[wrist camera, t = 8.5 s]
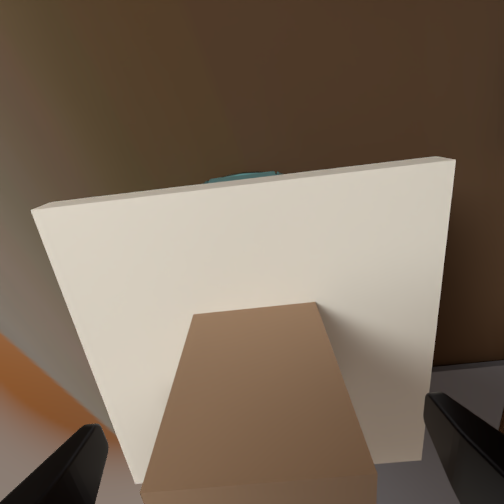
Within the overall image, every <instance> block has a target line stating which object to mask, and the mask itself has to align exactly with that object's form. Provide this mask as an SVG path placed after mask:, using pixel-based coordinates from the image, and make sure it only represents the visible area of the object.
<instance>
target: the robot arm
mask: <svg viewBox="0 0 504 504" xmlns="http://www.w3.org/2000/svg"><path fill="white" fill-rule="evenodd" d="M423 419H424V423H425V426H426V428H427V430H428V433H429V435H430V437H431V440H432V442H433V445H434V447H435V449H436V452H437V454H438V457H439V459H440V461H441V464H442V466H443V468H444V471H445V473H446V476H447V478H448V480H449V482H450V485H451V487H452V489H453V491H454V493H455V495H456V497H457V499H458V501H459V502H460V504H504V434H503V433H501V432H500V431H498V430H497V429H496V428H494V427H493V426H491V425H490V424H488V423H487V422H485V421H484V420H483V419H481V418H480V417H478V416H477V415H475V414H474V413H472V412H471V411H470V410H468V409H467V408H465V407H464V406H462V405H461V404H459V403H458V402H457V401H455V400H454V399H452V398H451V397H449V396H448V395H447V394H445V393H443V392H432V393H427V394H426V395H425V402H424V412H423ZM107 454H108V442H107V440H106V437H105V435H104V432H103V430H102V427H101V426H100V425H99V424H87V425H84V426H83V427H81V428H80V429H79V430H78V431H77V432H76V433H74V434H73V435H72V436H71V437H70V438H69V439H68V440H67V441H66V442H65V443H64V444H62V445H61V446H60V447H59V448H58V449H57V450H56V451H55V452H54V453H53V454H52V455H51V456H49V458H47V459H46V460H45V461H44V462H43V463H42V464H41V465H40V466H39V467H38V468H37V469H35V470H34V471H33V472H32V473H31V474H30V475H29V476H28V477H27V478H26V479H25V480H23V481H22V482H21V483H20V484H19V485H18V486H17V487H16V488H15V489H14V490H13V491H12V492H10V493H9V494H8V495H7V496H6V497H5V498H4V499H3V500H2V501H1V502H0V504H95V501H96V497H97V493H98V489H99V485H100V481H101V477H102V474H103V469H104V466H105V462H106V458H107Z"/></svg>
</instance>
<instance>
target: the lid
mask: <svg viewBox="0 0 504 504" xmlns="http://www.w3.org/2000/svg"><path fill="white" fill-rule="evenodd" d="M455 163H456V160H454V159H449V158H443V157H438V156H434V157H426V158H417V159H409V160H401V161H392V162H384V163H375V164H367V165H359V166H350V167H342V168H333V169H325V170H317V171H308V172H300V173H291V174H283V175H275V176H266V177H258V178H249V179H241V180H233V181H224V182H216V183H207V184H199V185H191V186H182V187H174V188H165V189H157V190H149V191H140V192H132V193H123V194H115V195H107V196H98V197H90V198H81V199H73V200H65V201H56V202H50V203H47V204H45V205H42V206H40V207H37V208H35V209H32V210H31V212H32V215H33V218H34V220H35V223H36V225H37V228H38V231H39V233H40V236H41V239H42V241H43V244H44V246H45V249H46V252H47V254H48V257H49V259H50V262H51V265H52V267H53V270H54V273H55V275H56V278H57V280H58V283H59V286H60V288H61V291H62V293H63V296H64V299H65V301H66V304H67V307H68V309H69V312H70V314H71V317H72V320H73V322H74V325H75V328H76V330H77V333H78V335H79V338H80V341H81V343H82V346H83V348H84V351H85V354H86V356H87V359H88V362H89V364H90V367H91V369H92V372H93V375H94V377H95V380H96V383H97V385H98V388H99V390H100V393H101V396H102V398H103V401H104V403H105V406H106V409H107V411H108V414H109V417H110V419H111V422H112V424H113V427H114V430H115V432H116V435H117V437H118V440H119V443H120V445H121V448H122V451H123V453H124V456H125V458H126V461H127V463H128V466H129V469H130V472H131V474H132V477H133V479H134V482H135V483H136V484H138V483H143V484H142V488H141V491H140V495H141V497H142V500H143V503H144V504H376V500H377V476H378V474H377V471H376V468H375V465H374V464H382V463H394V462H406V461H418V460H421V459H422V450H423V442H424V433H425V423H424V419H423V412H424V402H425V395H426V394H427V393H429V389H430V381H431V372H432V363H433V355H434V346H435V337H436V329H437V320H438V311H439V302H440V294H441V285H442V276H443V268H444V259H445V250H446V242H447V233H448V224H449V216H450V207H451V198H452V190H453V181H454V172H455Z"/></svg>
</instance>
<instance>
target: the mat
mask: <svg viewBox="0 0 504 504" xmlns="http://www.w3.org/2000/svg"><path fill="white" fill-rule="evenodd" d="M432 392H443V393H445V394H447V395H448V396H449V397H451V398H452V399H454V400H455V401H457V402H458V403H459V404H461V405H462V406H464V407H465V408H467V409H468V410H470V411H471V412H472V413H474V414H475V415H477V416H478V417H480V418H481V419H483V420H484V421H485V422H487V423H488V424H490V425H491V426H493V427H494V428H496V429H497V430H499V425H500V421H501V417H502V412H503V408H504V360H500V361H490V362H479V363H469V364H458V365H448V366H438V367H432V372H431V381H430V389H429V393H432ZM374 465H375V468H376V471H377V474H378V476H377V500H376V504H460V502H459V501H458V499H457V497H456V495H455V493H454V491H453V489H452V487H451V485H450V482H449V480H448V478H447V476H446V473H445V471H444V468H443V466H442V464H441V461H440V459H439V457H438V454H437V452H436V449H435V447H434V445H433V442H432V440H431V437H430V435H429V433H428V430H427V428H426V426H425V433H424V442H423V450H422V459H421V460H418V461H406V462H394V463H382V464H374Z"/></svg>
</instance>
